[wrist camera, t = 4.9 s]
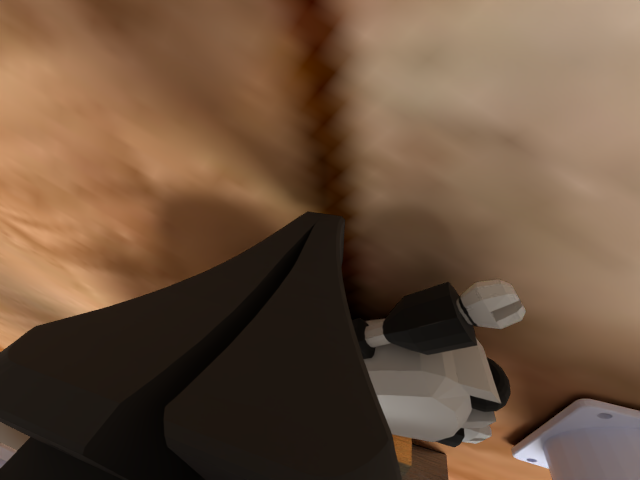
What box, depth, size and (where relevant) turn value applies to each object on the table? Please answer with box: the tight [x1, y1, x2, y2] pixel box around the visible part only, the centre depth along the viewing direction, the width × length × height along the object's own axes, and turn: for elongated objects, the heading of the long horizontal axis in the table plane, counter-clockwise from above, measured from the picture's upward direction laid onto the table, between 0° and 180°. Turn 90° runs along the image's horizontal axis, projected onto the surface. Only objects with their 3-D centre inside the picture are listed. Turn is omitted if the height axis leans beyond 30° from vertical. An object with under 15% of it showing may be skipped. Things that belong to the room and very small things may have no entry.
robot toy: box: [352, 279, 526, 447], centre depth 13 cm, size 12×4×15 cm
